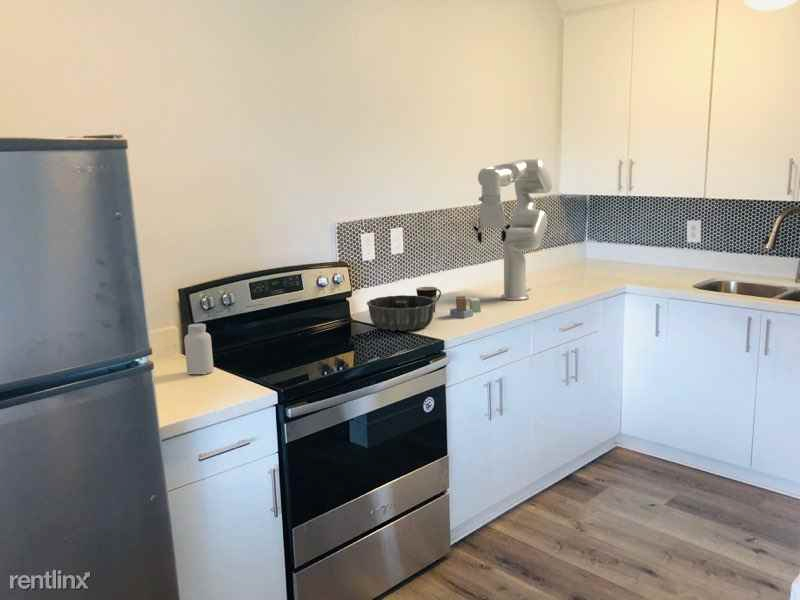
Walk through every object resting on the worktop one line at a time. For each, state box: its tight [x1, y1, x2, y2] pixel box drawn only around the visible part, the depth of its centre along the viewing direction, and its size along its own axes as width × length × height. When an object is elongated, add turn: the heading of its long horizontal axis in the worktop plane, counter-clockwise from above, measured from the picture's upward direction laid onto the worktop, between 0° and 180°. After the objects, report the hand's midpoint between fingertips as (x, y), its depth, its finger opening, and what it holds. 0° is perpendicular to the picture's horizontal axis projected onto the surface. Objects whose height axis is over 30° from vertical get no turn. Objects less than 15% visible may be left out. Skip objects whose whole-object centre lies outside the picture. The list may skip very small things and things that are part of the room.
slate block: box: [449, 307, 474, 319], centre depth 295 cm, size 8×5×3 cm, turn 41°
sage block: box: [468, 297, 482, 313], centre depth 303 cm, size 6×4×5 cm, turn 5°
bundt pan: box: [366, 294, 437, 332], centre depth 279 cm, size 26×26×10 cm
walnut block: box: [455, 295, 467, 311], centre depth 294 cm, size 6×4×5 cm, turn 0°
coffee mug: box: [415, 286, 442, 313], centre depth 304 cm, size 12×9×10 cm
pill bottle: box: [183, 323, 214, 374], centre depth 225 cm, size 8×8×15 cm
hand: (491, 241), depth 302 cm, fingers open, 9 cm apart
